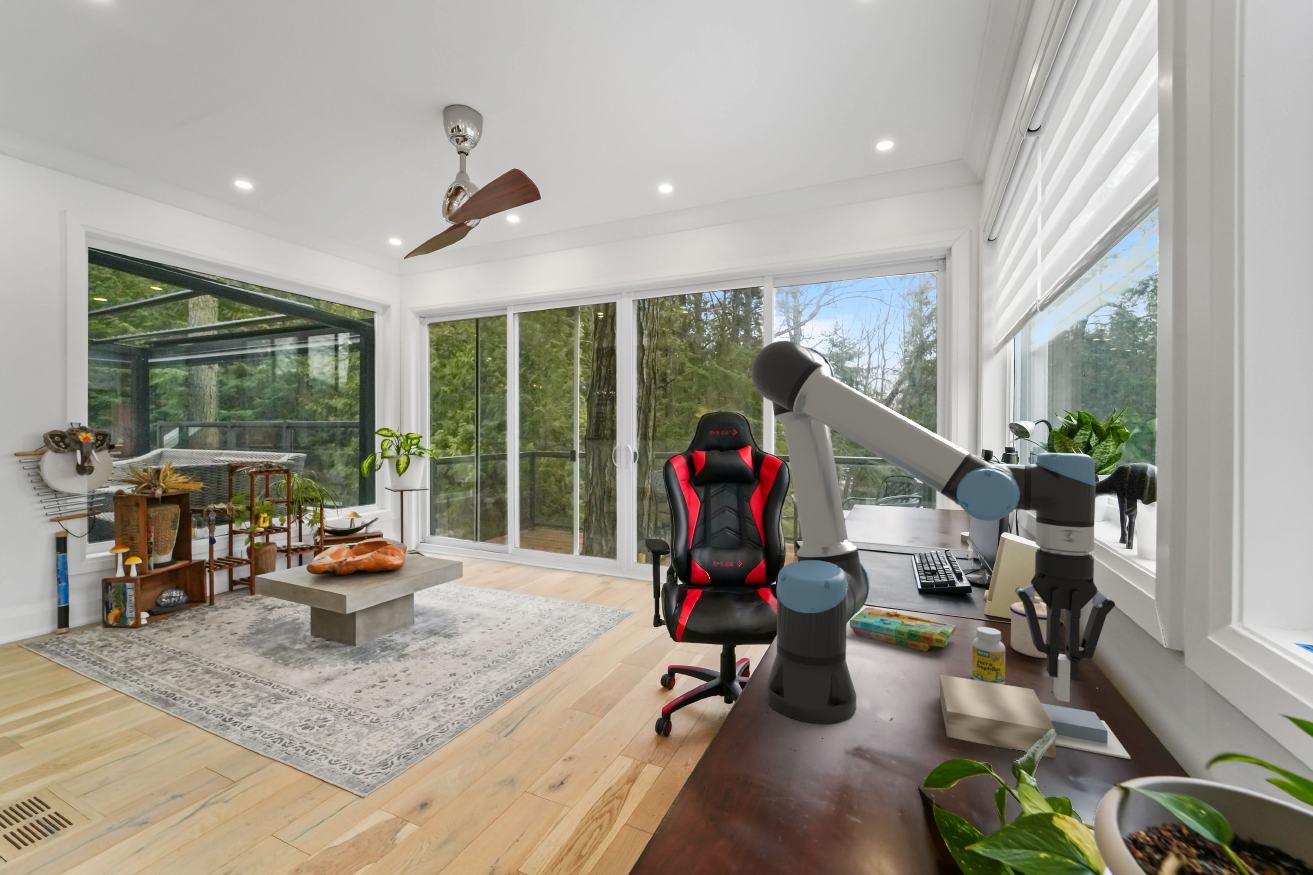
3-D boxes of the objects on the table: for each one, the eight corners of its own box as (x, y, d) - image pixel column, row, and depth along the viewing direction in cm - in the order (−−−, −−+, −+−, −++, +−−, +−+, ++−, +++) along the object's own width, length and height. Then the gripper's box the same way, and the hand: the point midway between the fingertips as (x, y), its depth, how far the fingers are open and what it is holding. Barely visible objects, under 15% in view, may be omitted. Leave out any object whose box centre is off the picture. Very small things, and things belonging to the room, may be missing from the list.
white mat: (1050, 744, 84) (1050, 742, 84) (1033, 710, 94) (1033, 708, 94) (1130, 759, 81) (1130, 757, 81) (1104, 722, 91) (1104, 720, 91)
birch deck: (946, 736, 86) (947, 710, 86) (939, 696, 99) (940, 674, 99) (1055, 757, 81) (1055, 730, 81) (1032, 712, 94) (1033, 689, 94)
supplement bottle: (1004, 678, 107) (1005, 628, 107) (1005, 689, 102) (1006, 637, 102) (972, 672, 109) (972, 623, 109) (971, 682, 105) (972, 632, 105)
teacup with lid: (1056, 663, 114) (1057, 606, 114) (1004, 650, 120) (1005, 597, 120) (1065, 646, 122) (1066, 594, 122) (1017, 636, 129) (1018, 585, 129)
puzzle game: (865, 604, 138) (956, 621, 126) (865, 622, 138) (955, 642, 126) (849, 616, 128) (945, 636, 116) (849, 636, 129) (945, 658, 116)
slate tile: (1044, 731, 87) (1044, 719, 87) (1035, 713, 93) (1035, 702, 93) (1107, 743, 84) (1107, 730, 84) (1094, 724, 90) (1094, 712, 90)
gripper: (1020, 551, 87) (1018, 699, 88) (1124, 559, 82) (1121, 717, 83) (1011, 542, 94) (1009, 680, 95) (1106, 549, 89) (1103, 694, 90)
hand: (1061, 697), depth 89 cm, fingers closed
